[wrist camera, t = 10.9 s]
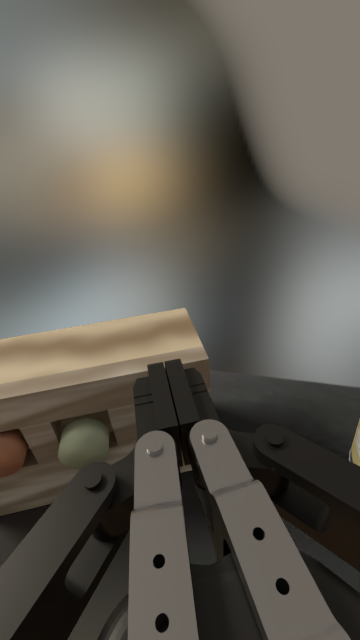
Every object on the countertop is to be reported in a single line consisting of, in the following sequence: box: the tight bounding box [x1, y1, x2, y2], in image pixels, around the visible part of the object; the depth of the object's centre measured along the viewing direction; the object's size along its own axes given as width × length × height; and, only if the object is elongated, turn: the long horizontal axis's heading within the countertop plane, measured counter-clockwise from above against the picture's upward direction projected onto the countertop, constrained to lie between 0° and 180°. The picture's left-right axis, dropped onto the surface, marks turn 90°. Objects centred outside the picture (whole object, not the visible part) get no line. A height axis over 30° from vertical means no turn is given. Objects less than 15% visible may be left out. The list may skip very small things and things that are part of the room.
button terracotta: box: [0, 429, 29, 477], centre depth 26 cm, size 2×4×4 cm, turn 101°
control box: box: [0, 308, 211, 516], centre depth 32 cm, size 10×24×15 cm, turn 101°
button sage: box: [58, 418, 109, 469], centre depth 26 cm, size 2×4×4 cm, turn 101°
